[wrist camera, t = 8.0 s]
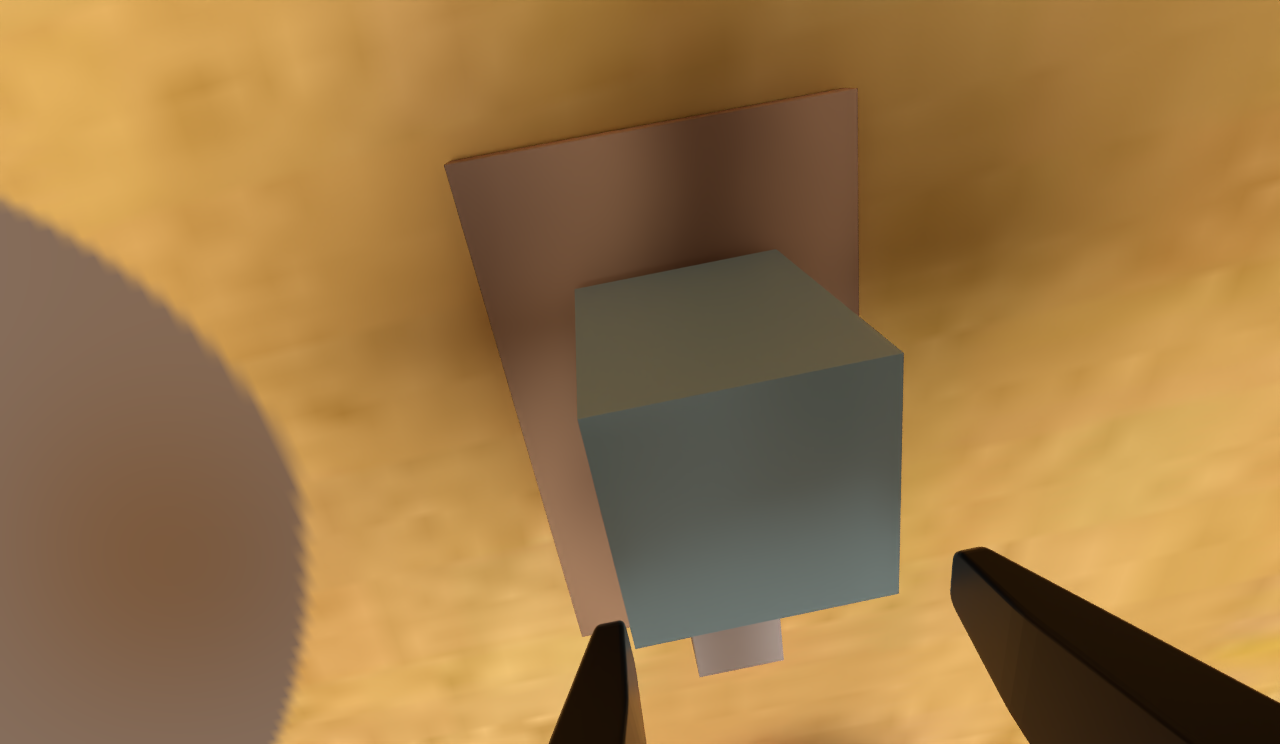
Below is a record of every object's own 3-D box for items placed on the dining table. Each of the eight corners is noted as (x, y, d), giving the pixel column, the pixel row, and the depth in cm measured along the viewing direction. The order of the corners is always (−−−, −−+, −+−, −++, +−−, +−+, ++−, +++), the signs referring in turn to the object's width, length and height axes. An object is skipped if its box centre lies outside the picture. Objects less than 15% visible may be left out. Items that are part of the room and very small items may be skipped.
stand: (844, 88, 15) (1053, 93, 9) (851, 564, 22) (970, 768, 16) (449, 161, 15) (355, 223, 8) (581, 618, 22) (587, 849, 16)
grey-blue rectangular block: (776, 249, 16) (903, 353, 10) (789, 422, 18) (898, 593, 12) (574, 289, 15) (577, 419, 9) (613, 458, 18) (635, 648, 12)
